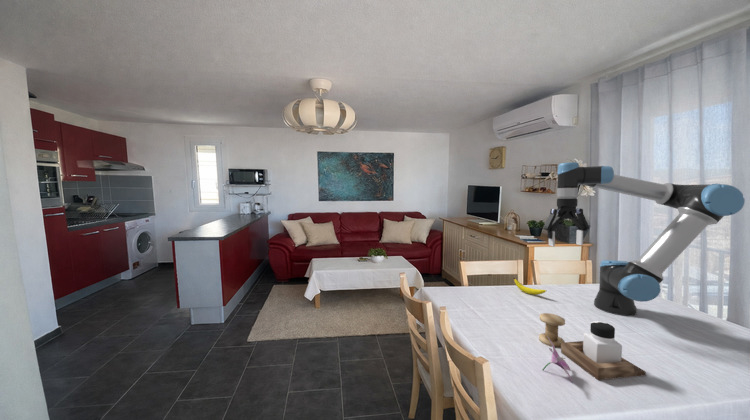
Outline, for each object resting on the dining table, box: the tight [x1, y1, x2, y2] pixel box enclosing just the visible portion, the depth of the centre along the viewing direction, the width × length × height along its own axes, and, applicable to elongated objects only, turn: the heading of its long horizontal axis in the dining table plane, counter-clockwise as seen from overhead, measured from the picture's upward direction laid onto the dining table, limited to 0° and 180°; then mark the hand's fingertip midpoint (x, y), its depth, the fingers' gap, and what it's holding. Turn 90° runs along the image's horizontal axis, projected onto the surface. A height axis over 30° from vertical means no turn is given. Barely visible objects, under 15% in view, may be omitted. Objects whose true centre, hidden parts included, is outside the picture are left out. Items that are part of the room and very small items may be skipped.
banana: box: [513, 277, 547, 295], centre depth 149 cm, size 3×19×6 cm, turn 26°
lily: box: [541, 336, 573, 382], centre depth 85 cm, size 12×12×10 cm
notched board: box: [560, 340, 647, 381], centre depth 89 cm, size 16×14×4 cm
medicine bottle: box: [582, 320, 623, 364], centre depth 89 cm, size 7×7×12 cm
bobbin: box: [538, 312, 566, 348], centre depth 102 cm, size 8×8×9 cm
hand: (565, 245), depth 122 cm, fingers open, 13 cm apart
